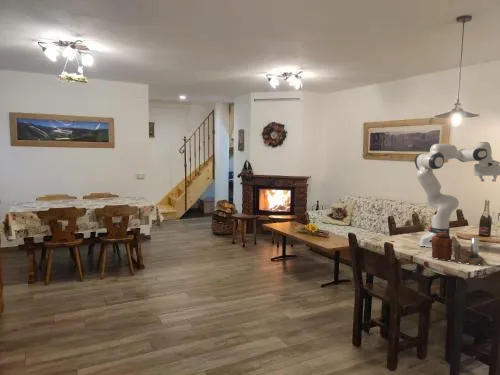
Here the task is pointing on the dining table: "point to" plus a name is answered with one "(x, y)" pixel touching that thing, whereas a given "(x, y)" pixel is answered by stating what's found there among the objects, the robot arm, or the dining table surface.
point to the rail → (463, 254)
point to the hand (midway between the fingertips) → (488, 181)
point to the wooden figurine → (442, 246)
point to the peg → (474, 247)
